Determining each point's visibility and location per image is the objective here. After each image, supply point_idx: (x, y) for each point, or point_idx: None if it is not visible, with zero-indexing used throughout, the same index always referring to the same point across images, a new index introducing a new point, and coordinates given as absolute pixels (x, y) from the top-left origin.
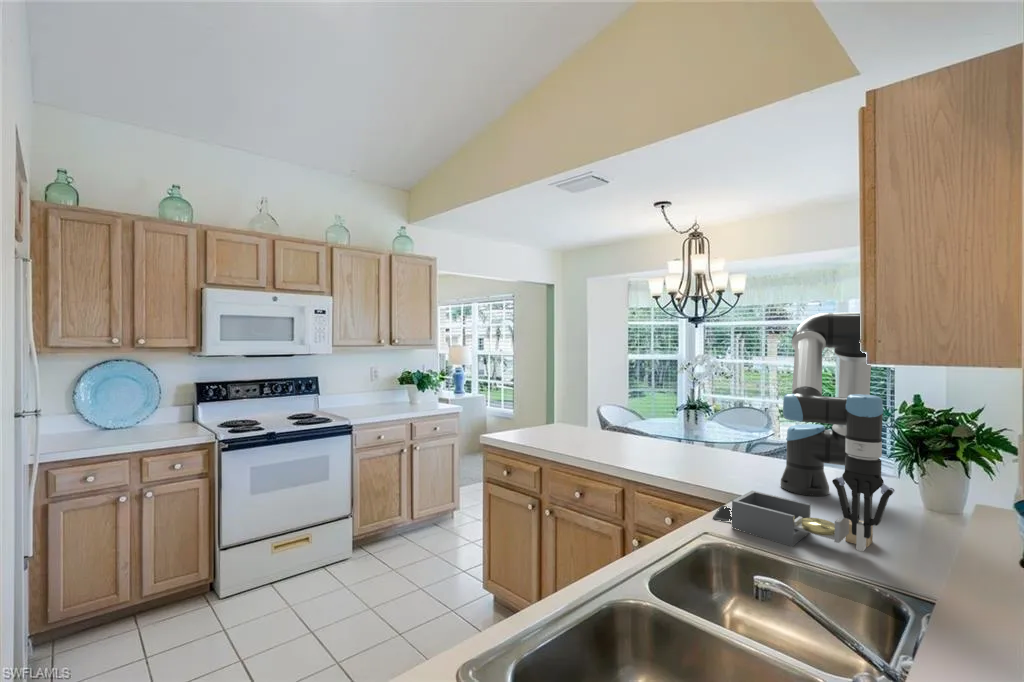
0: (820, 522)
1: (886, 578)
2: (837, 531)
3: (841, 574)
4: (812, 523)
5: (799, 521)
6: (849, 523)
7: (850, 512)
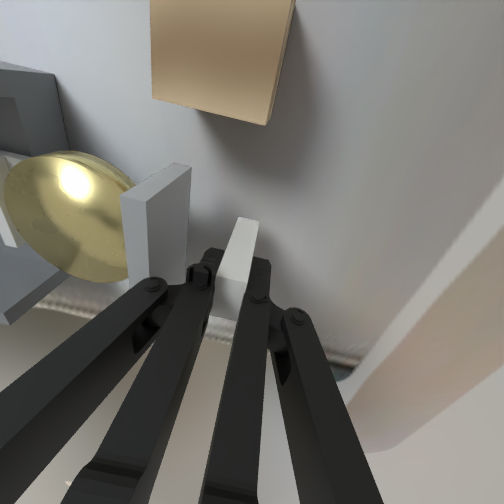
0: (75, 214)
1: None
2: None
3: (218, 338)
4: (63, 246)
5: None
6: (168, 92)
7: (158, 303)
